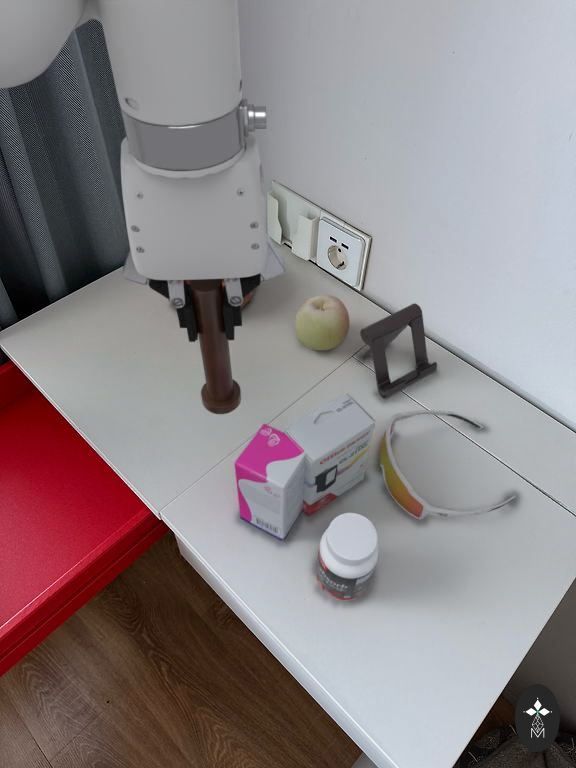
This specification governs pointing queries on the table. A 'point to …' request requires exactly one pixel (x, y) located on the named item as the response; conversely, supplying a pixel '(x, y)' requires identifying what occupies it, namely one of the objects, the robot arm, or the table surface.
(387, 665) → the table surface
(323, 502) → the ink box
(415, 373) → the tablet stand
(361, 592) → the pill bottle
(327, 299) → the fruit
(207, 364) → the cylinder
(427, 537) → the table surface
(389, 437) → the sunglasses
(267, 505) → the supplement box
